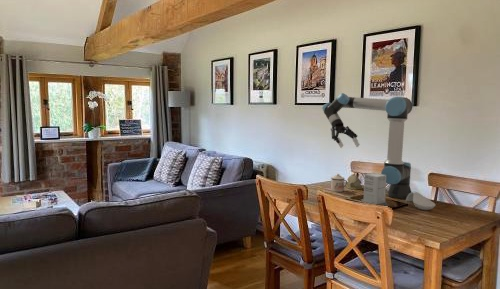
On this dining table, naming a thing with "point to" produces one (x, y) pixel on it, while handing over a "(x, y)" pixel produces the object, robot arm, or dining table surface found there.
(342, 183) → the teacup with lid
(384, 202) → the charcoal mat
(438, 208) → the dining table surface
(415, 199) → the spoon rest
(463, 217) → the dining table surface
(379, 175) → the supplement box
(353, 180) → the ceramic model
